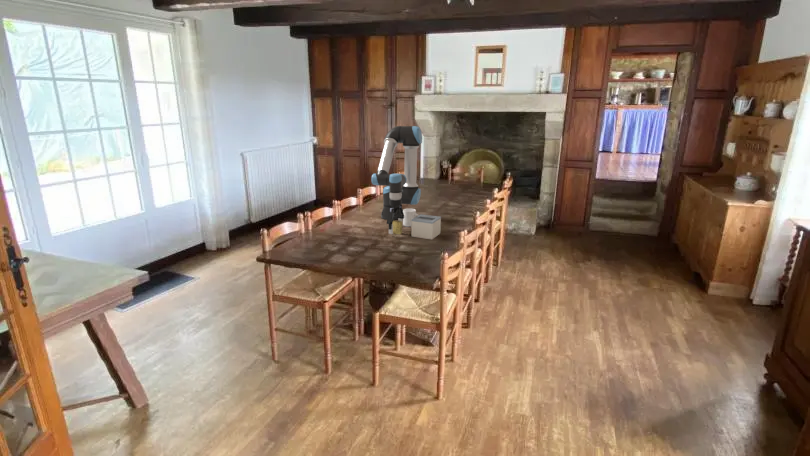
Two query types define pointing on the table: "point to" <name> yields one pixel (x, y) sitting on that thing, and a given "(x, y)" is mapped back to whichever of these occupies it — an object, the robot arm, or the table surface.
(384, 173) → the robot arm
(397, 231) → the block
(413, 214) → the mug
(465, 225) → the table surface
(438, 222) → the coin box
